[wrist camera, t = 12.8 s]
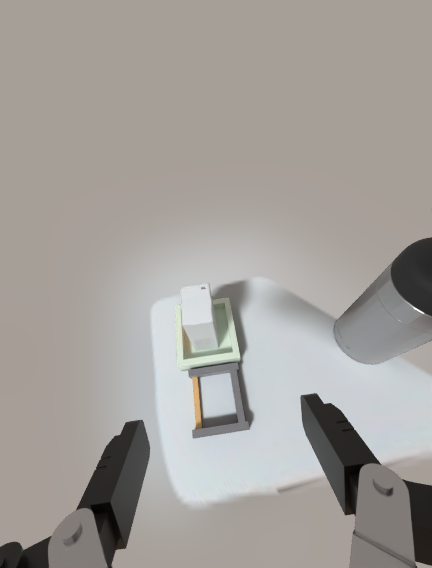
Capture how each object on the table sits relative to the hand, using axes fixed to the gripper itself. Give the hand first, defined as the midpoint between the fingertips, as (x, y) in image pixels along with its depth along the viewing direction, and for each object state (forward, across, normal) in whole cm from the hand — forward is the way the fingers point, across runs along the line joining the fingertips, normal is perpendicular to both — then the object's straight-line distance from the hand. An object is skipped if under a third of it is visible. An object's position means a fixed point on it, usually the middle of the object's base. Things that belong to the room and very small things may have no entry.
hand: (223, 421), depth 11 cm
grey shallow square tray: (+21, +2, +16) cm, 27 cm away
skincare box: (+28, +2, +8) cm, 29 cm away
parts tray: (+29, +2, +9) cm, 30 cm away
